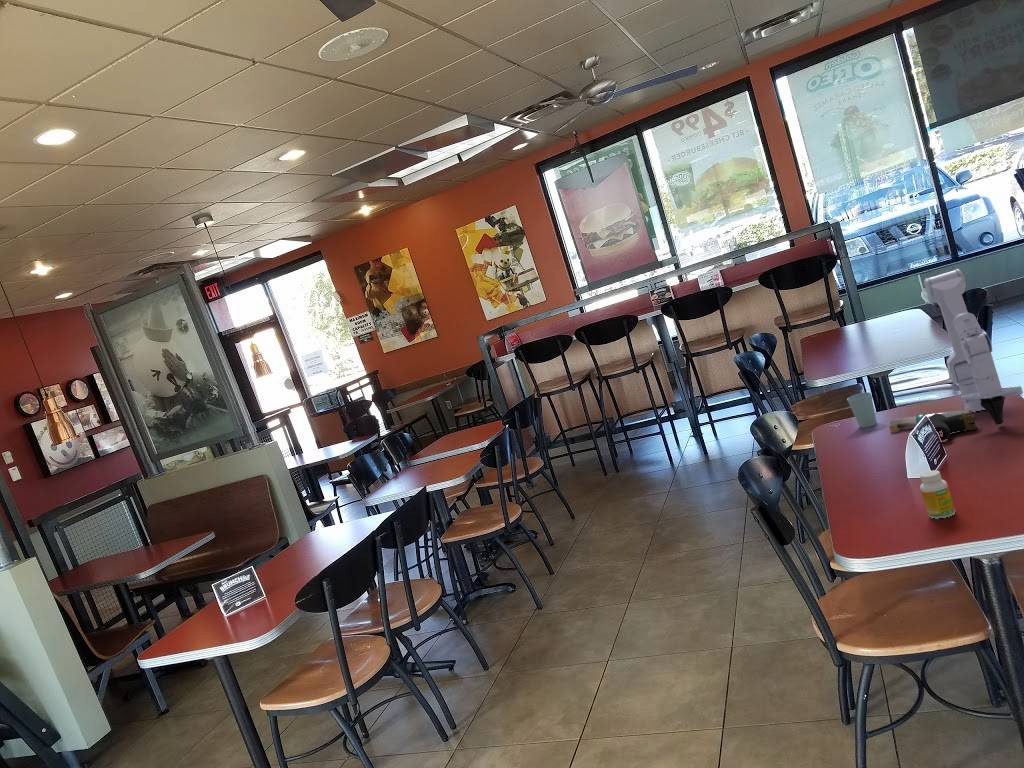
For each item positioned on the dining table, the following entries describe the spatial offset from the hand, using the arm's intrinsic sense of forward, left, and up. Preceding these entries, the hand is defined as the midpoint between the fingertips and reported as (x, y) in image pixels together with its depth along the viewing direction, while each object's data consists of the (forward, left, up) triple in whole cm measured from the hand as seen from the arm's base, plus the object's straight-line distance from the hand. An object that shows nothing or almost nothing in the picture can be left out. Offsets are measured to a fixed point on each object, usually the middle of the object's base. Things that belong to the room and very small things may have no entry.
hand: (999, 423), depth 213 cm
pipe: (-11, -21, -1) cm, 24 cm away
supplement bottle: (+62, +1, -1) cm, 62 cm away
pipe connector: (0, -12, -2) cm, 12 cm away
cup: (-22, -44, -1) cm, 49 cm away
